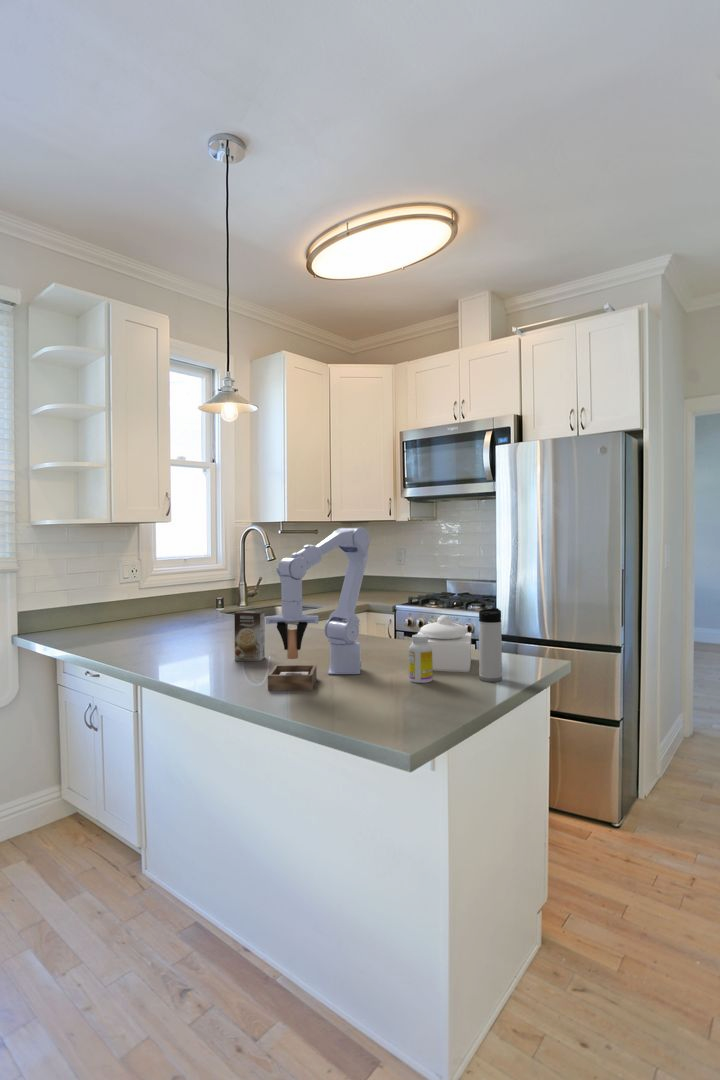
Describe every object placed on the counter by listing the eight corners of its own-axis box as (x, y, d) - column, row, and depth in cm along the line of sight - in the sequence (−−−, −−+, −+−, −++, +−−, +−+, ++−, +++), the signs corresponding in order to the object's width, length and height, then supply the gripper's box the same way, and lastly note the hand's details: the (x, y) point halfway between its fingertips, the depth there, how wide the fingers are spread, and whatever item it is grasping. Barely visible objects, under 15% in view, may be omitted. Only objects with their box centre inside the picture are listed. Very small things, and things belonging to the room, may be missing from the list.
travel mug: (506, 678, 165) (506, 608, 164) (494, 683, 160) (494, 611, 160) (487, 675, 169) (486, 607, 169) (475, 679, 164) (474, 609, 164)
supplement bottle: (435, 679, 166) (435, 634, 165) (428, 684, 160) (428, 638, 159) (413, 676, 168) (413, 632, 168) (405, 682, 162) (405, 636, 162)
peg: (298, 656, 163) (298, 628, 163) (297, 658, 160) (297, 630, 160) (288, 656, 163) (287, 628, 163) (286, 659, 160) (286, 630, 160)
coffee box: (233, 661, 192) (232, 612, 191) (239, 656, 198) (238, 610, 198) (260, 661, 191) (260, 612, 190) (265, 657, 197) (265, 610, 197)
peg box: (316, 678, 168) (316, 664, 168) (312, 690, 156) (312, 675, 156) (275, 678, 168) (275, 665, 168) (267, 690, 156) (267, 675, 156)
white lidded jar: (411, 670, 177) (411, 618, 177) (418, 657, 195) (418, 610, 194) (469, 672, 173) (469, 619, 173) (471, 659, 191) (471, 611, 190)
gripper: (263, 602, 158) (264, 652, 158) (316, 602, 157) (317, 651, 158) (268, 599, 165) (268, 647, 165) (318, 599, 164) (319, 646, 165)
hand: (292, 649), depth 162 cm, fingers closed on peg, 3 cm apart
